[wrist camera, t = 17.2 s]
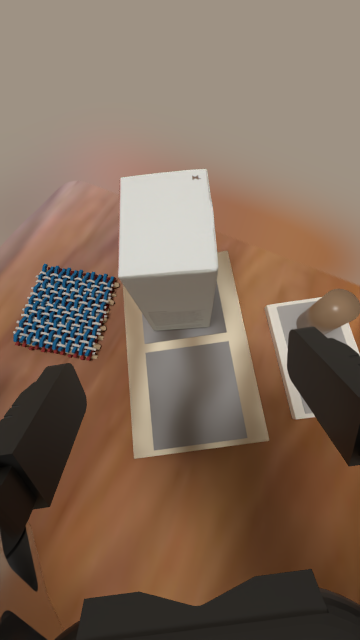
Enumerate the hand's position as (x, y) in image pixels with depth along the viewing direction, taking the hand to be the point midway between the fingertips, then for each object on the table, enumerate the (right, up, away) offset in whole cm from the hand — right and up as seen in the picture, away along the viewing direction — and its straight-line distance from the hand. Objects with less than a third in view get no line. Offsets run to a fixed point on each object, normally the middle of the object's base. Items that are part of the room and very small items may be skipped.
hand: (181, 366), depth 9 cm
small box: (0, +4, +19) cm, 20 cm away
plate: (+14, -2, +18) cm, 23 cm away
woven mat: (-14, +2, +22) cm, 26 cm away
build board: (+1, -1, +19) cm, 19 cm away
